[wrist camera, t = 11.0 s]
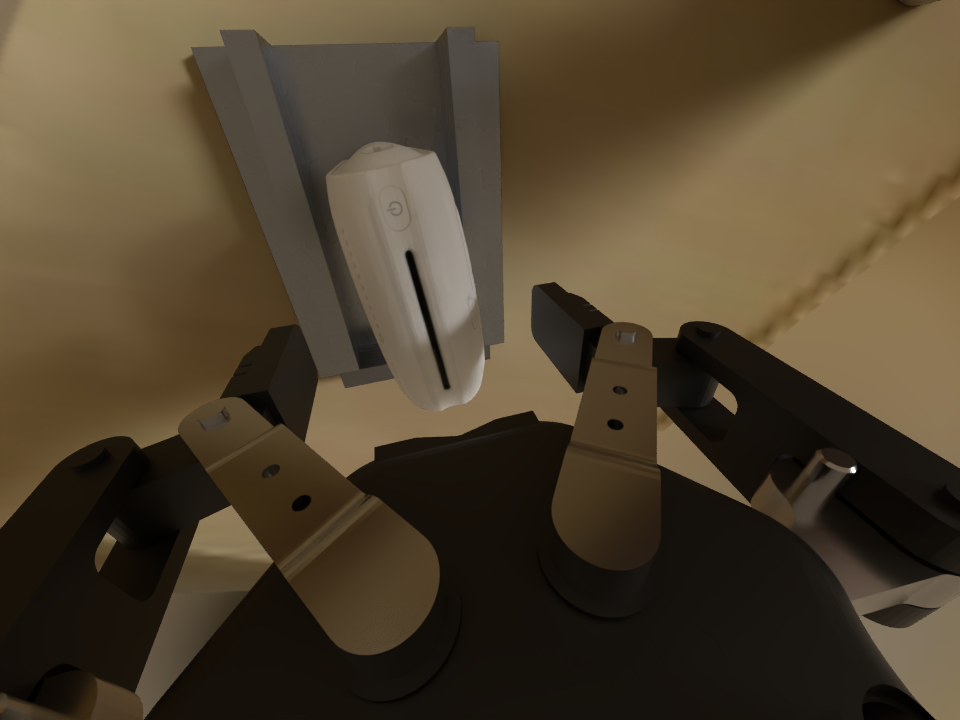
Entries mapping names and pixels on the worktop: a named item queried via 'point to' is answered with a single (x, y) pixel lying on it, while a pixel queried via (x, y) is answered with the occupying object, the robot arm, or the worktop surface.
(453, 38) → the bracket
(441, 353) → the photo printer
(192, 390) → the worktop surface
